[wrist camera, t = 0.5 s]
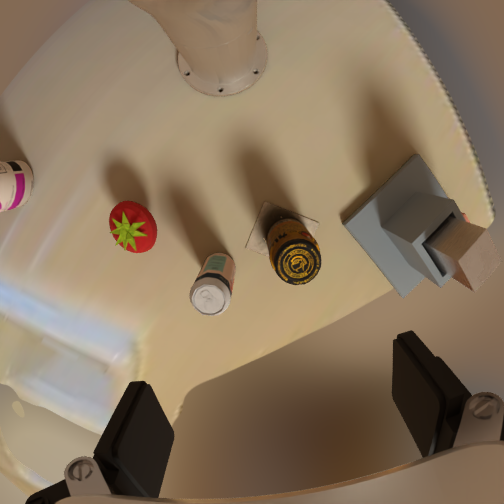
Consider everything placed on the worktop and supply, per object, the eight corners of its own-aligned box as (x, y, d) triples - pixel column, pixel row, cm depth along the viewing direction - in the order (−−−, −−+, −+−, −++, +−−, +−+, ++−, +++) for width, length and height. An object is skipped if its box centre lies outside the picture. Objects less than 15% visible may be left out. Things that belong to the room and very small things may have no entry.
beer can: (214, 288, 48) (202, 325, 36) (197, 261, 47) (179, 292, 35) (242, 273, 47) (238, 308, 36) (225, 245, 46) (215, 273, 34)
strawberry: (145, 187, 44) (117, 194, 34) (176, 227, 45) (156, 244, 36) (117, 212, 45) (86, 225, 35) (147, 251, 46) (122, 272, 37)
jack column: (393, 227, 43) (456, 261, 27) (416, 204, 42) (486, 227, 26) (410, 252, 44) (474, 293, 28) (433, 230, 43) (502, 261, 27)
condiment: (299, 268, 47) (313, 301, 35) (245, 247, 46) (242, 275, 35) (319, 222, 45) (340, 242, 34) (264, 200, 44) (267, 213, 33)
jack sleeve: (342, 223, 45) (368, 242, 34) (414, 154, 42) (456, 153, 31) (399, 294, 48) (431, 326, 37) (462, 230, 45) (504, 247, 34)
